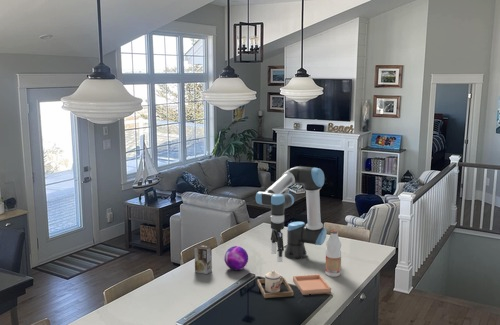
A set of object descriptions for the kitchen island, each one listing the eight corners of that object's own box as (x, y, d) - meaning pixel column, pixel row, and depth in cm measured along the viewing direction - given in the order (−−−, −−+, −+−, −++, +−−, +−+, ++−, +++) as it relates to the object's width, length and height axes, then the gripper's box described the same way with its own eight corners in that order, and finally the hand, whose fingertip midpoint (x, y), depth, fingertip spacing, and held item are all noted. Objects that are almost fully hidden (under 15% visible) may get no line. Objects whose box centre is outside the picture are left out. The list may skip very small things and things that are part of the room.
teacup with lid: (271, 294, 282) (271, 275, 280) (261, 289, 289) (261, 270, 287) (287, 289, 289) (288, 270, 287) (277, 284, 296) (277, 265, 294)
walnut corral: (257, 283, 298) (257, 279, 297) (284, 281, 301) (284, 277, 300) (264, 298, 278) (264, 293, 277) (293, 295, 281) (293, 291, 280)
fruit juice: (330, 278, 306) (332, 234, 301) (322, 272, 314) (323, 229, 309) (343, 275, 310) (345, 232, 305) (334, 270, 318) (336, 227, 313)
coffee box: (212, 270, 316) (212, 246, 313) (207, 274, 310) (206, 249, 308) (199, 268, 320) (199, 244, 317) (194, 272, 314) (194, 247, 311)
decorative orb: (253, 269, 319) (253, 246, 317) (236, 275, 308) (236, 252, 306) (236, 263, 329) (236, 241, 327) (219, 269, 319) (219, 246, 316)
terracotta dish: (292, 280, 301) (292, 276, 301) (319, 278, 304) (319, 274, 304) (302, 295, 282) (302, 290, 281) (330, 292, 285) (330, 288, 284)
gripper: (265, 216, 294) (265, 250, 297) (276, 228, 270) (275, 265, 273) (278, 215, 295) (277, 249, 299) (290, 227, 271) (289, 264, 275)
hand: (276, 257), depth 286 cm, fingers open, 13 cm apart
